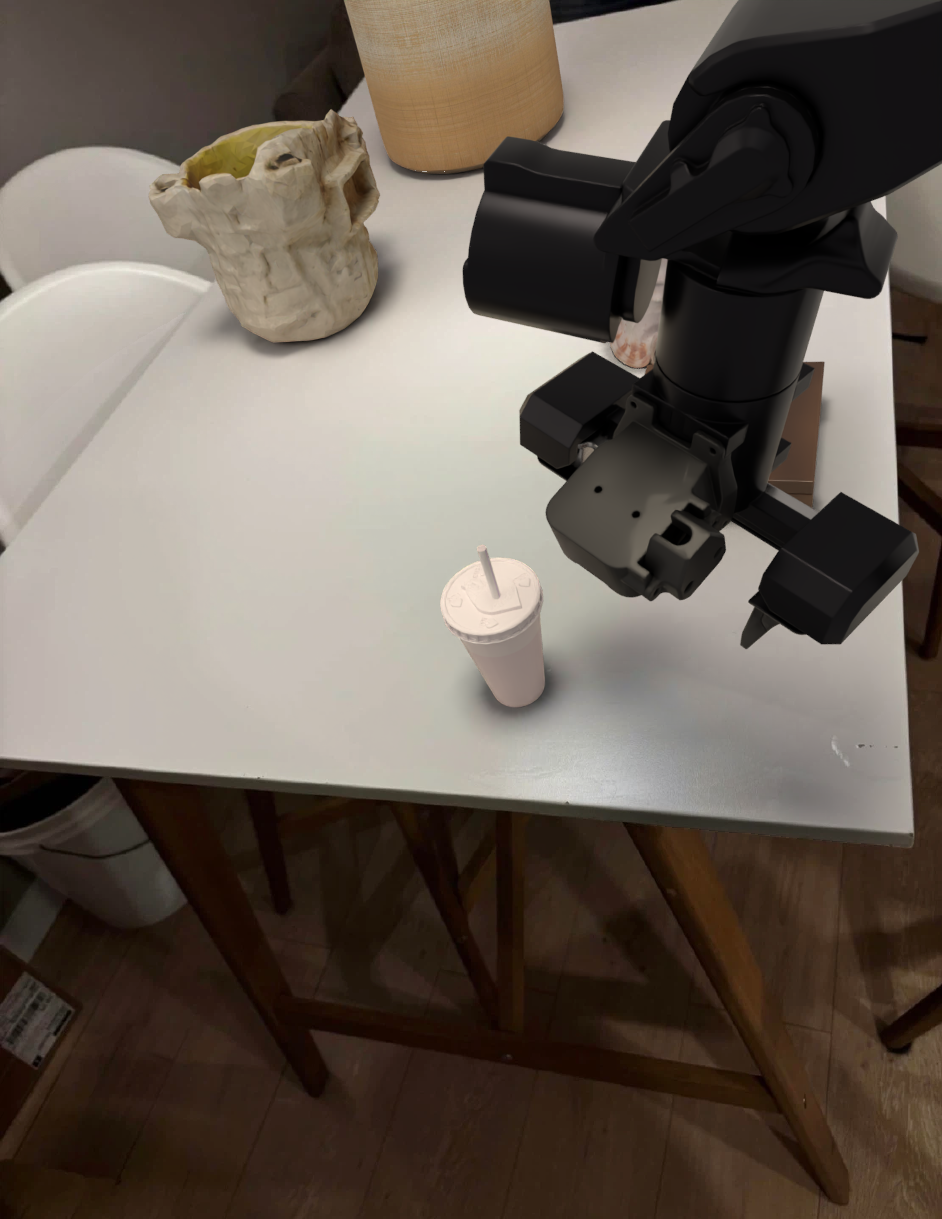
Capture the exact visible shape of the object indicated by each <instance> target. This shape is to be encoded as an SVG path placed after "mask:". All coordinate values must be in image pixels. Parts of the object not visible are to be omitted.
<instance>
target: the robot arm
mask: <svg viewBox="0 0 942 1219" xmlns="http://www.w3.org/2000/svg"><path fill="white" fill-rule="evenodd" d="M941 165H942V0H737V1H736V2H735V4H733V6H732V8H731V10H729V12H728V14H727V15H726V17H725V18H724V20H723V21H722V23H721V25H720V26H719V28H718V29H717V30H716V32H715V33H714V35H713V37H712V38H711V40H710V42H708V44H707V46H706V47H705V49H704V51H703V52H702V54H701V55H700V57H699V58H698V59H697V61H696V63H695V64H694V66H693V67H692V69H691V70H690V72H689V73H688V75H687V76H686V79H685V81H684V83H682V86H681V88H680V90H679V92H678V94H677V96H676V97H675V100H674V101H673V103H672V108H671V114H670V119H666V120H665V119H664V120H663V121H661V122H660V124H659V126H658V128H656V131H655V132H654V134H653V135H652V136H651V138H650V140H649V141H648V143H647V145H646V146H645V147H644V149H643V151H642V152H641V153H640V155H639V157H638V158H637V160H636V161H630V160H626V159H618V158H612V157H606V156H599V155H595V154H594V155H593V154H588V153H581V152H575V151H569V150H564V149H563V150H562V149H557V148H554V147H551V146H548V145H546V144H544V143H541V142H540V141H539V142H537V141H533V140H528V139H522V138H516V137H509V136H507V137H506V138H505V139H504V140H503V141H502V142H501V143H500V145H499V146H498V147H497V148H496V149H495V151H494V152H493V153H492V154H491V155H490V157H489V158H488V159H487V160H486V161H485V163H484V164H483V168H482V169H483V188H484V189H483V193H482V195H481V198H480V200H479V203H478V206H477V209H476V212H475V215H474V220H473V224H472V227H471V232H470V238H469V244H468V251H467V258H466V259H465V261H464V262H463V266H462V271H461V272H462V288H463V293H464V299H465V301H466V304H467V306H468V309H469V310H470V311H471V312H472V313H473V315H476V316H481V317H485V318H489V319H494V320H497V321H501V322H502V321H503V322H507V323H511V324H514V325H515V324H516V325H520V326H524V327H529V328H533V329H539V330H543V331H546V332H552V333H556V334H560V335H566V336H569V337H575V338H579V339H583V340H587V341H592V342H595V343H601V344H606V343H610V342H611V343H613V342H614V340H615V338H616V334H617V331H618V327H619V325H620V322H621V320H622V318H623V320H625V321H630V322H635V323H639V322H640V321H641V320H642V318H643V317H644V315H645V313H646V311H647V309H648V307H649V304H650V301H651V299H652V296H653V293H654V289H655V286H656V282H657V279H658V275H659V270H660V266H661V261H662V258H663V259H667V266H666V274H665V282H664V289H663V297H662V305H661V312H660V320H659V328H658V335H657V343H656V351H655V359H654V364H653V365H654V366H653V369H652V370H650V371H649V372H648V373H646V374H645V373H644V374H643V375H642V376H641V377H639V376H637V375H635V374H634V373H632V372H630V371H628V370H627V369H625V368H623V367H621V366H620V365H617V364H616V363H614V362H612V361H610V360H609V359H607V358H605V357H603V356H601V355H600V354H598V353H596V352H595V351H591V352H588V353H587V354H585V355H583V356H581V357H580V358H578V359H577V360H576V361H574V362H573V363H571V364H569V365H568V366H567V367H565V368H564V369H562V370H561V371H559V372H558V373H557V374H555V375H554V376H553V377H551V378H549V379H548V380H547V381H546V382H544V383H543V384H541V385H540V386H538V387H537V388H535V389H534V390H533V391H530V393H528V394H527V395H526V396H525V399H524V401H523V402H522V404H521V406H520V407H519V410H518V411H519V414H518V415H519V416H518V417H519V445H520V446H521V447H523V448H524V449H526V450H527V451H529V452H530V453H532V454H533V455H535V456H536V458H537V461H538V463H539V464H540V465H541V466H543V467H544V468H545V469H547V470H548V471H550V472H552V474H555V475H556V476H558V478H561V479H562V480H564V481H565V482H564V483H563V484H562V486H560V488H559V489H558V490H557V491H556V492H555V493H554V495H553V496H552V497H551V498H550V499H549V501H548V503H547V505H546V508H545V519H546V521H547V523H548V525H549V528H550V529H551V531H552V533H553V535H554V537H555V539H556V541H557V543H558V545H559V547H560V549H561V551H562V553H563V554H564V556H565V557H566V558H568V559H569V560H570V561H571V562H573V563H574V564H577V565H579V566H580V567H581V568H583V569H584V570H586V571H587V572H588V573H589V574H591V575H592V576H594V577H595V578H597V579H598V580H600V581H601V582H602V583H604V585H606V586H607V587H608V588H609V589H610V590H612V591H613V592H614V593H616V594H617V595H618V596H621V597H625V598H638V597H641V596H642V597H643V598H644V599H646V600H647V601H649V602H654V601H655V600H656V599H657V598H658V597H659V596H660V595H662V594H667V593H668V594H670V595H671V596H673V597H674V598H676V599H677V600H678V601H684V600H687V599H688V598H691V597H692V595H694V593H695V592H696V591H697V589H699V587H700V586H701V585H702V584H703V582H704V581H705V580H706V579H707V578H708V577H709V575H711V573H712V572H713V571H714V570H715V568H717V566H718V565H719V564H720V563H721V561H722V560H723V558H724V556H725V554H726V552H727V546H726V544H727V543H726V538H725V537H726V536H725V534H724V533H722V532H721V531H722V530H723V529H724V528H726V527H727V526H728V525H729V524H730V523H733V524H735V525H736V526H738V527H739V528H741V529H743V530H744V531H746V532H747V533H749V534H750V535H752V536H754V537H755V538H757V539H758V540H760V541H762V542H763V543H765V544H767V545H768V546H770V547H772V548H773V549H775V550H776V551H777V552H776V554H775V555H774V557H773V558H772V560H771V561H770V563H769V564H768V565H767V567H766V568H765V570H764V572H762V576H761V578H760V581H759V584H758V588H757V590H758V591H756V592H755V593H754V594H753V595H752V596H751V597H750V598H749V599H748V602H747V603H749V605H751V606H753V609H752V611H751V613H750V616H749V618H748V619H747V622H745V625H744V627H743V629H742V631H741V637H740V643H739V645H740V647H742V648H744V649H745V650H748V649H749V648H750V647H751V646H753V645H754V644H755V643H756V642H757V641H759V640H760V639H761V638H762V637H763V636H765V635H766V634H767V633H768V632H769V631H770V630H772V629H773V628H774V627H777V626H778V625H781V626H782V627H784V628H785V629H787V630H788V631H789V632H791V633H794V634H796V635H799V636H808V637H809V638H811V639H812V640H813V641H815V642H816V643H818V644H819V645H842V644H843V643H844V642H845V640H846V639H847V638H848V637H849V636H850V635H851V634H852V633H853V632H854V631H855V630H856V629H857V628H858V627H859V626H860V625H861V624H862V623H863V622H864V621H865V620H866V619H867V617H868V616H870V614H871V613H872V612H873V611H875V609H876V608H878V606H879V605H880V604H881V603H882V602H883V601H884V600H885V599H886V598H887V597H888V596H889V595H890V593H891V592H892V591H894V590H895V588H896V587H897V586H898V585H899V584H900V583H901V582H902V581H903V580H904V579H905V578H906V577H907V576H908V574H909V572H910V570H911V569H912V566H913V564H914V562H915V561H916V559H917V557H918V555H919V553H920V548H919V544H918V538H917V533H915V532H913V531H911V530H909V529H908V528H906V527H904V526H902V525H901V524H899V523H897V522H895V521H893V520H892V519H890V518H888V517H886V516H885V515H883V514H881V513H879V512H877V511H876V510H874V509H872V508H870V507H868V506H867V505H865V504H863V503H861V501H858V500H857V499H855V498H853V497H851V496H850V495H847V494H846V493H844V492H842V491H840V492H839V493H837V495H835V496H834V497H833V498H832V499H831V500H830V501H829V502H828V503H827V504H826V505H825V506H824V507H822V509H820V510H819V511H818V510H816V509H815V508H813V507H812V508H811V507H809V506H807V505H806V504H804V503H802V502H801V501H799V500H797V499H795V498H794V497H792V496H790V495H789V494H787V493H785V492H783V491H782V490H780V489H778V488H777V487H775V486H773V485H771V484H770V483H768V480H769V476H770V473H772V472H773V471H774V470H775V469H776V468H777V467H778V466H780V465H781V464H782V463H783V462H784V461H785V460H786V459H787V457H788V453H789V450H790V447H791V444H792V443H791V442H789V441H787V440H785V439H784V438H782V437H781V436H782V432H783V429H784V425H785V422H786V419H787V415H788V412H789V408H790V405H791V402H792V401H793V400H795V399H796V398H797V397H798V396H799V395H801V394H802V393H803V392H804V391H805V390H807V389H808V388H809V386H810V382H811V379H812V376H813V373H814V369H815V368H814V367H812V366H810V365H808V364H806V363H804V362H805V361H804V360H805V356H806V354H807V350H808V347H809V343H810V340H811V336H812V333H813V330H814V327H815V323H816V321H817V320H816V319H817V317H818V314H819V310H820V307H821V303H822V300H823V296H824V293H825V292H828V293H833V294H838V295H844V296H849V297H853V298H859V299H863V300H873V299H875V298H877V297H878V296H879V295H880V294H881V293H882V291H883V289H884V285H885V282H886V279H887V275H888V272H889V269H890V264H891V262H892V259H893V255H894V252H895V249H896V245H897V242H898V239H899V235H898V232H897V230H896V229H895V227H893V226H892V225H891V224H890V223H889V221H888V220H887V219H886V218H885V217H884V216H883V215H882V214H881V213H880V212H879V211H877V210H876V208H875V207H874V205H873V203H872V202H873V201H877V200H879V199H882V198H884V197H887V196H889V195H891V194H893V193H895V192H896V191H898V190H900V189H901V188H903V187H905V186H907V185H908V184H910V183H912V182H913V181H915V180H917V179H918V178H920V177H922V176H924V175H926V174H927V173H929V172H930V171H932V170H934V169H935V168H937V167H939V166H941Z"/></svg>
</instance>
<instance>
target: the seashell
mask: <svg viewBox="0 0 942 1219" xmlns="http://www.w3.org/2000/svg"><path fill="white" fill-rule="evenodd" d="M666 266H667V259H663V258H662V261H661V266H660V270H659V275H658V279H657V282H656V286H655V289H654V293H653V296H652V299H651V301H650V304H649V307H648V309H647V311H646V313H645V315H644V317H643V318H642V320H641V321H640V322H639V323H635V322H630V321H625V320H623V318H622V320H621V322H620V325H619V327H618V331H617V334H616V338H615V340H614V342H613V343H611V342H609V344H610V348H611V351H612V353H613V354H614V356H615V357H616V358H617V359H618V360H619V361H620V362H622V363H623V364H624V365H626V366H628V367H630V368H635V369H641V368H642V369H643V368H646V367H647V365H654V359H655V351H656V343H657V335H658V328H659V320H660V312H661V305H662V297H663V289H664V282H665V274H666Z"/></svg>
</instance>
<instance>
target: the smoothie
mask: <svg viewBox="0 0 942 1219" xmlns="http://www.w3.org/2000/svg"><path fill="white" fill-rule="evenodd" d="M476 551H477V554H478V557H479V560H477V561H474V562H471V563H469V564H468V565H466V566H464V567H463V568H461V569H460V570H458V571H457V572H456V573H455V574H454V575H453V576H452V577H451V578H450V579H449V580H448V581H447V583H446V584H445V586H444V588H443V590H442V593H441V596H440V604H439V605H440V611H441V614H442V618H443V621H444V625H445V626H446V628H447V629H448V630H449V631H450V633H451V634H452V635H453V636H455V637H456V638H458V639H459V641H460V642H461V643H462V645H463V647H464V648H465V650H466V652H467V654H468V656H469V657H470V658H471V660H472V661H473V663H474V665H475V666H476V668H477V670H478V671H479V674H480V675H481V676H482V678H483V679H484V681H485V683H486V685H487V686H488V688H489V689H490V691H491V693H492V694H493V696H494V698H495V699H496V700H497V701H498V703H500V704H502V705H503V706H505V707H509V708H521V707H526V706H529V705H531V704H533V703H534V702H536V701H537V700H538V699H539V698H540V697H541V696H542V694H543V692H544V690H545V687H546V674H545V664H544V663H545V662H544V651H543V636H542V635H543V634H542V623H541V621H542V620H541V619H542V618H541V612H542V609H543V605H544V589H543V588H542V585H541V583H540V579H539V577H538V575H537V573H536V572H535V571H534V570H533V569H532V568H531V567H530V566H529V565H527V564H526V563H524V562H523V561H520V560H517V559H514V558H511V557H510V558H509V557H490V555H489V552H488V549H487V546H486V545H485V544H479V545H478V546H477V547H476Z"/></svg>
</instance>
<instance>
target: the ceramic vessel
mask: <svg viewBox="0 0 942 1219" xmlns="http://www.w3.org/2000/svg"><path fill="white" fill-rule="evenodd" d="M363 136H364V131H363V129H362V128H361V127H360V126H358V123H357V120H356V119H355V117H354V116H349V117H348V116H340V115H339V113H337V112H336V111H334V110H333V109H330V110H329V111H328V112H326V114H325V117H324V119H323V120H279V121H270V122H264V123H260V124H251V125H248V126H246V127H242V128H240V129H237V130H235V131H233V132H230V133H228V134H224V135H221V136H219V137H218V138H217V139H216V140H215V141H213V142H212V143H211V144H209V145H205V146H203V147H202V148H200V149H199V150H198V151H197V152H195V154H193V155H192V156H190V157H188V158H187V159H185V160H184V161H183V162H182V163H181V164H180V165H179V171H178V172H176V173H163V174H160V175H159V176H158V177H156V179H155V180H154V181H152V182H151V184H149V186H148V187H149V192H148V201H149V204H150V205H151V207H152V209H153V211H154V212H155V213H156V215H157V217H158V218H159V221H160V223H161V224H162V226H163V228H164V231H165V232H166V234H167V235H168V236H170V237H172V238H174V239H182V240H188V241H193V242H196V243H197V244H198V245H200V246H201V247H203V248H204V249H205V250H206V252H207V254H208V258H209V261H210V265H211V268H212V270H213V273H214V277H215V282H216V283H217V285H218V288H219V290H221V293H222V296H223V298H224V301H225V304H226V306H227V308H228V310H229V311H230V312H231V313H232V314H233V315H234V317H235V318H236V319H237V320H238V322H239V324H240V326H241V327H242V328H244V329H245V330H247V331H249V332H250V333H252V334H254V335H256V336H257V337H260V338H262V339H264V340H267V341H269V342H271V343H274V344H275V343H286V342H302V341H304V342H305V341H313V340H318V339H325V338H328V337H330V336H333V335H335V334H337V333H339V332H341V331H343V330H345V329H346V328H347V327H349V326H350V325H351V324H353V323H354V322H355V321H356V320H357V319H358V318H360V317H361V316H362V314H363V312H364V311H365V310H366V308H367V307H368V304H369V303H370V301H371V298H372V297H373V294H374V291H375V289H376V285H377V283H378V280H379V279H378V278H379V260H378V252H377V250H376V249H375V246H374V245H373V243H372V242H371V240H370V233H369V230H368V228H367V226H366V225H365V222H366V221H367V220H368V219H369V218H370V217H371V216H372V215H373V214H374V213H375V211H376V210H377V208H378V205H379V202H380V200H379V199H380V197H381V193H380V191H379V189H378V186H377V181H376V178H375V175H374V173H373V169H372V165H371V160H370V154H369V152H368V148H367V143H366V140H365V139H364V137H363Z"/></svg>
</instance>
